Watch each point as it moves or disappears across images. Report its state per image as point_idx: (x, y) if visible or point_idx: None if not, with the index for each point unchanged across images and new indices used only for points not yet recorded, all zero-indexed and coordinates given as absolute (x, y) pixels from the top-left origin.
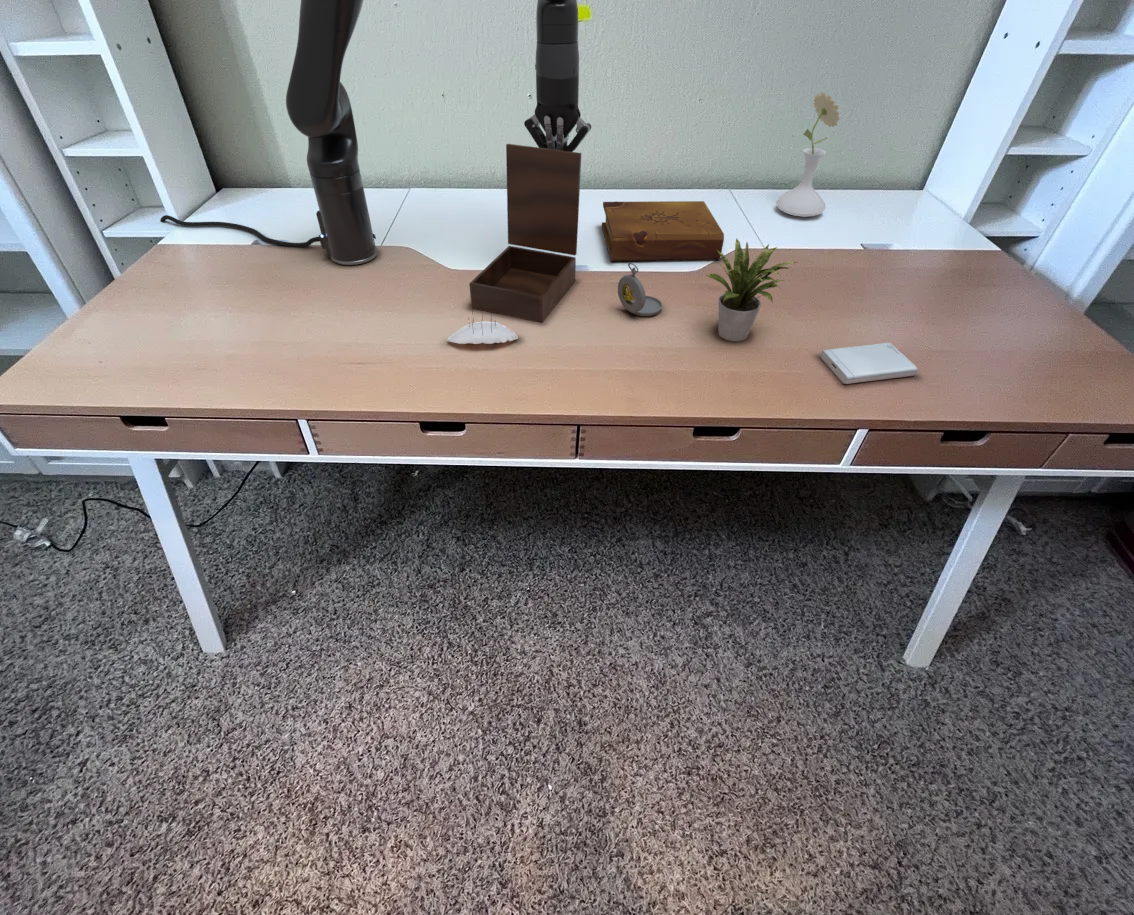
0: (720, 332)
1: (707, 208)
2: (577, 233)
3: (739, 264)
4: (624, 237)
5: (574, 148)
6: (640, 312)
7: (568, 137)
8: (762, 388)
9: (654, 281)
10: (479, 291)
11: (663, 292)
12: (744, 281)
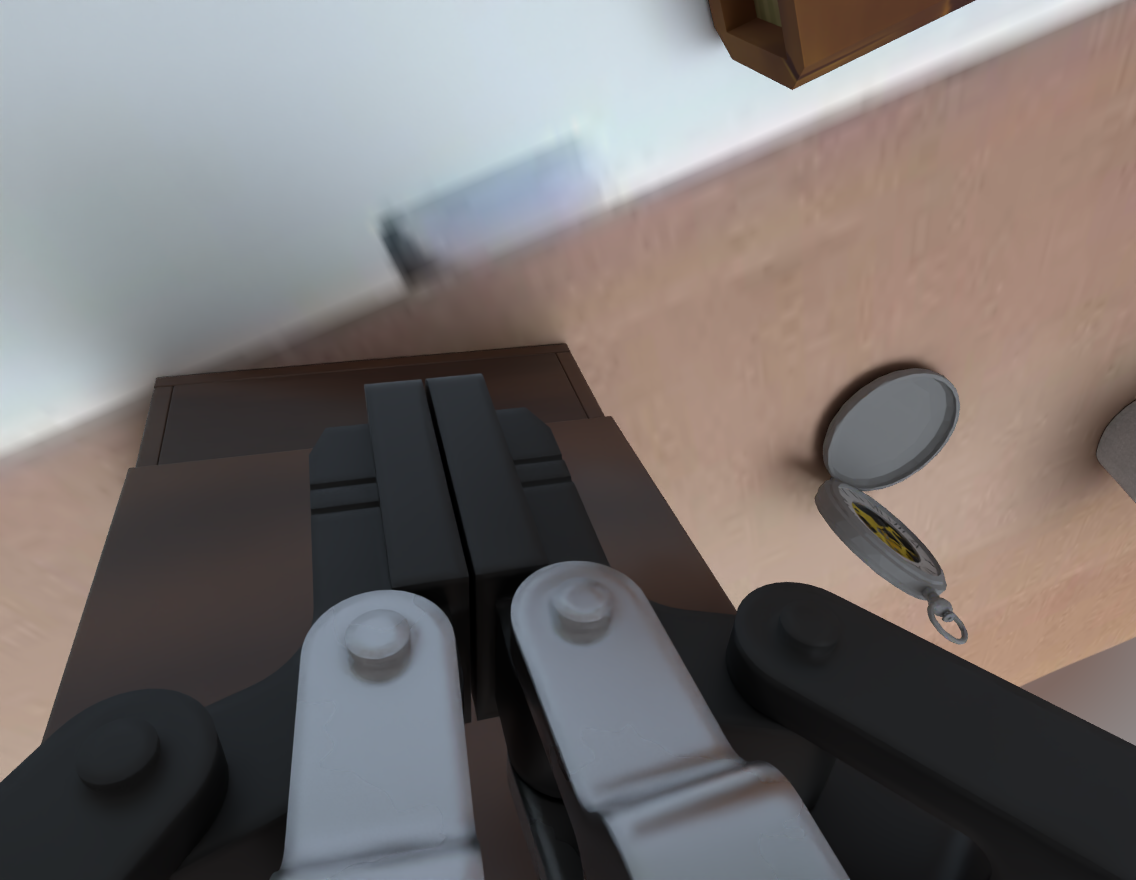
0: (1106, 468)
1: None
2: (656, 488)
3: None
4: (880, 38)
5: (875, 796)
6: (876, 488)
7: (787, 801)
8: (1117, 595)
9: (947, 178)
10: None
11: (973, 267)
12: None
